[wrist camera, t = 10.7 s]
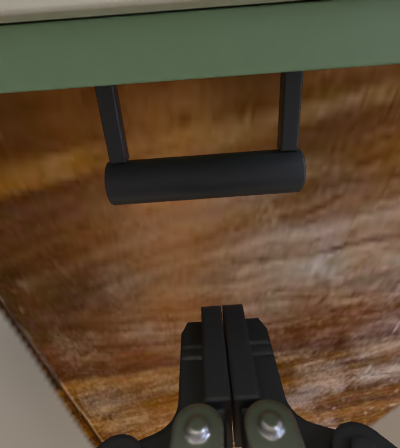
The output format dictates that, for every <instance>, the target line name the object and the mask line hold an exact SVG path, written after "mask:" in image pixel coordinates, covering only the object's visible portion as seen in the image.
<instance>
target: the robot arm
mask: <svg viewBox="0 0 400 448" xmlns="http://www.w3.org/2000/svg"><path fill="white" fill-rule="evenodd" d="M222 312H223V321H222ZM222 312H221V306H208V307H201V316H202V322H190V323H187V325H186V327H185V329H184V331H183V332H182V334H181V356H180V359H181V361H180V379H179V401H178V408H177V412H176V414H175V416H174V418H173V419H172V421H171V422H170V423H169V424H168V425H167V426H166V427H165V428H164V429H162V430H161V431H159V432H157V433H155V434H153V435H151V436H148V437H146V438H144V439H141V440H139V441H138V440H137V439H135V438H134V437H132V436H130V435H126V434H119V435H115V436H112V437H110V438H108V439H106V440H105V441H104V442H102V443H101V444H100V445H99V446H98V447H97V448H233V438H232V423H233V433H234V442H235V447H242V448H397V447H395V446H394V445H393V444H392V443H390V442H389V441H388V440H387V439H385V438H384V437H382V436H381V435H380V434H379V433H378V432H376V431H375V430H373V429H372V428H370V427H368V426H366V425H364V424H361V423H357V422H346V423H343V424H341V425H340V426H338V427H337V428H336V430H335V429H331V428H328V427H324V426H320V425H317V424H313V423H311V422H308V421H306V420H304V419H303V418H301V417H300V416H298V415H297V414H296V413H295V412H294V411H293V410H292V409H291V407H290V406H289V404H288V402H287V400H286V398H285V395H284V391H283V387H282V384H281V380H280V376H279V372H278V369H277V365H276V361H275V357H274V355H273V350H272V346H271V344H270V339H269V335H268V331H267V328H266V327H265V326H264V325H263V324H262V322H261V321H260V320H259V319H258V318H250V319H245V316H244V311H243V306H242V304H237V305H222Z"/></svg>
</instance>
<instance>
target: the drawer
mask: <svg viewBox="0 0 400 448" xmlns="http://www.w3.org/2000/svg"><path fill="white" fill-rule="evenodd" d="M388 64H400V0H318V1H305V2H292V3H279V4H266V5H253V6H240V7H227V8H214V9H201V10H188V11H175V12H162V13H149V14H136V15H123V16H110V17H97V18H84V19H71V20H58V21H45V22H32V23H19V24H6V25H0V93H14V92H27V91H41V90H54V89H67V88H81V87H95V92H96V97H97V102H98V106H99V111H100V116H101V121H102V126H103V131H104V136H105V141H106V145H107V150H108V155H109V160H110V162H108V163H107V164H106V167H105V177H104V178H105V188H106V193H107V196H108V199H109V201H110V202H111V204H113V205H122V204H137V203H151V202H165V201H179V200H193V199H207V198H221V197H235V196H249V195H263V194H277V193H291V192H299V191H301V190H302V188H303V186H304V182H305V175H306V167H305V159H304V155H303V153H302V151H301V150H300V149H298V136H299V123H300V110H301V97H302V85H303V72H304V71H308V70H321V69H335V68H348V67H361V66H375V65H388ZM268 73H281V77H280V98H279V119H278V140H277V148H278V149H277V150H263V151H250V152H236V153H222V154H208V155H194V156H181V157H167V158H153V159H139V160H128V159H129V154H128V148H127V142H126V137H125V131H124V125H123V119H122V114H121V108H120V102H119V96H118V91H117V85H121V84H134V83H148V82H161V81H174V80H188V79H201V78H214V77H228V76H241V75H254V74H268Z"/></svg>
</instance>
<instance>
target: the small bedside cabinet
mask: <svg viewBox="0 0 400 448" xmlns="http://www.w3.org/2000/svg"><path fill="white" fill-rule="evenodd" d="M305 1H318V0H0V25H6V24H19V23H32V22H45V21H58V20H71V19H84V18H97V17H110V16H123V15H136V14H149V13H162V12H175V11H188V10H201V9H214V8H227V7H240V6H253V5H266V4H279V3H292V2H305Z"/></svg>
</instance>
